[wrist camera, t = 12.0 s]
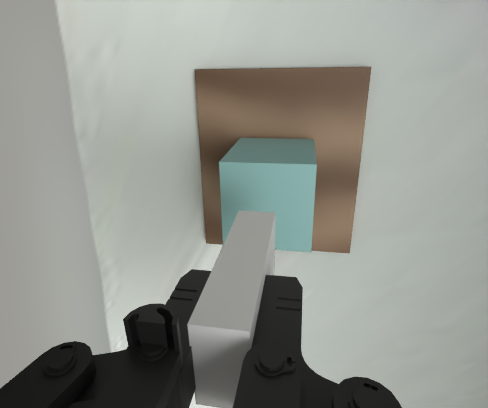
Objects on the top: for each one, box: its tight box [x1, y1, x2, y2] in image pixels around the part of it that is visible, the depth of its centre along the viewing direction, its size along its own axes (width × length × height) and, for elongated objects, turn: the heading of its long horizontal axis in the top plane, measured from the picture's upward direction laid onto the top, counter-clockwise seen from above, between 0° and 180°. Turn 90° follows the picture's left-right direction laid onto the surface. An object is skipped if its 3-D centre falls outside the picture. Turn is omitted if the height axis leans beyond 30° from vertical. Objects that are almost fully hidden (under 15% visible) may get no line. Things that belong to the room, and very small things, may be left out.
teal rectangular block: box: [219, 138, 317, 252], centre depth 22 cm, size 5×5×7 cm
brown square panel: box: [195, 67, 371, 253], centre depth 23 cm, size 14×12×8 cm
